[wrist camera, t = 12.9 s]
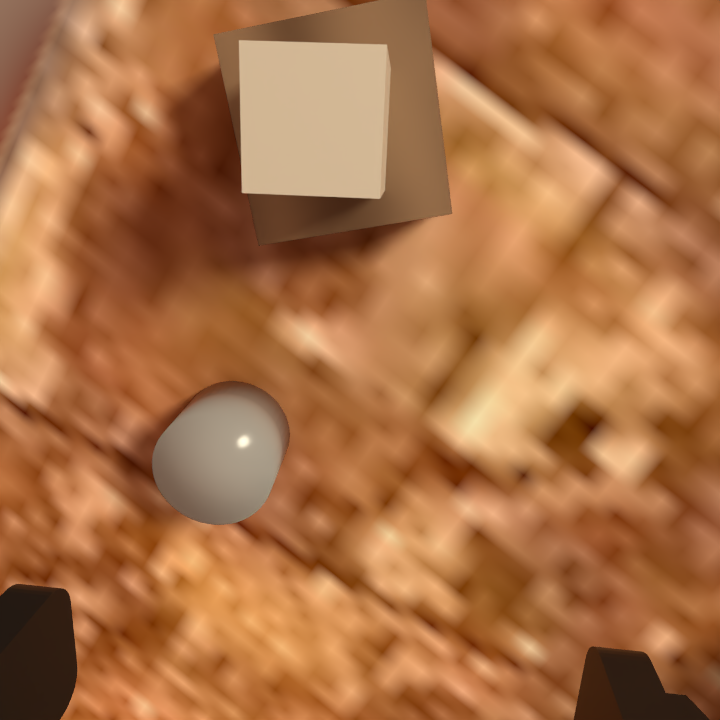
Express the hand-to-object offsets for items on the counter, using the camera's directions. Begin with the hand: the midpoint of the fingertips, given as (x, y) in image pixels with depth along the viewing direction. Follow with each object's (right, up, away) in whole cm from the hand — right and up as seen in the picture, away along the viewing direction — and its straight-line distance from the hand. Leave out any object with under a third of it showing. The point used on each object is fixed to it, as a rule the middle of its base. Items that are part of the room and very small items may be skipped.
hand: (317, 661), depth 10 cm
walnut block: (0, +16, +23) cm, 28 cm away
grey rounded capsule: (-7, 0, +28) cm, 29 cm away
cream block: (-1, +15, +18) cm, 23 cm away
